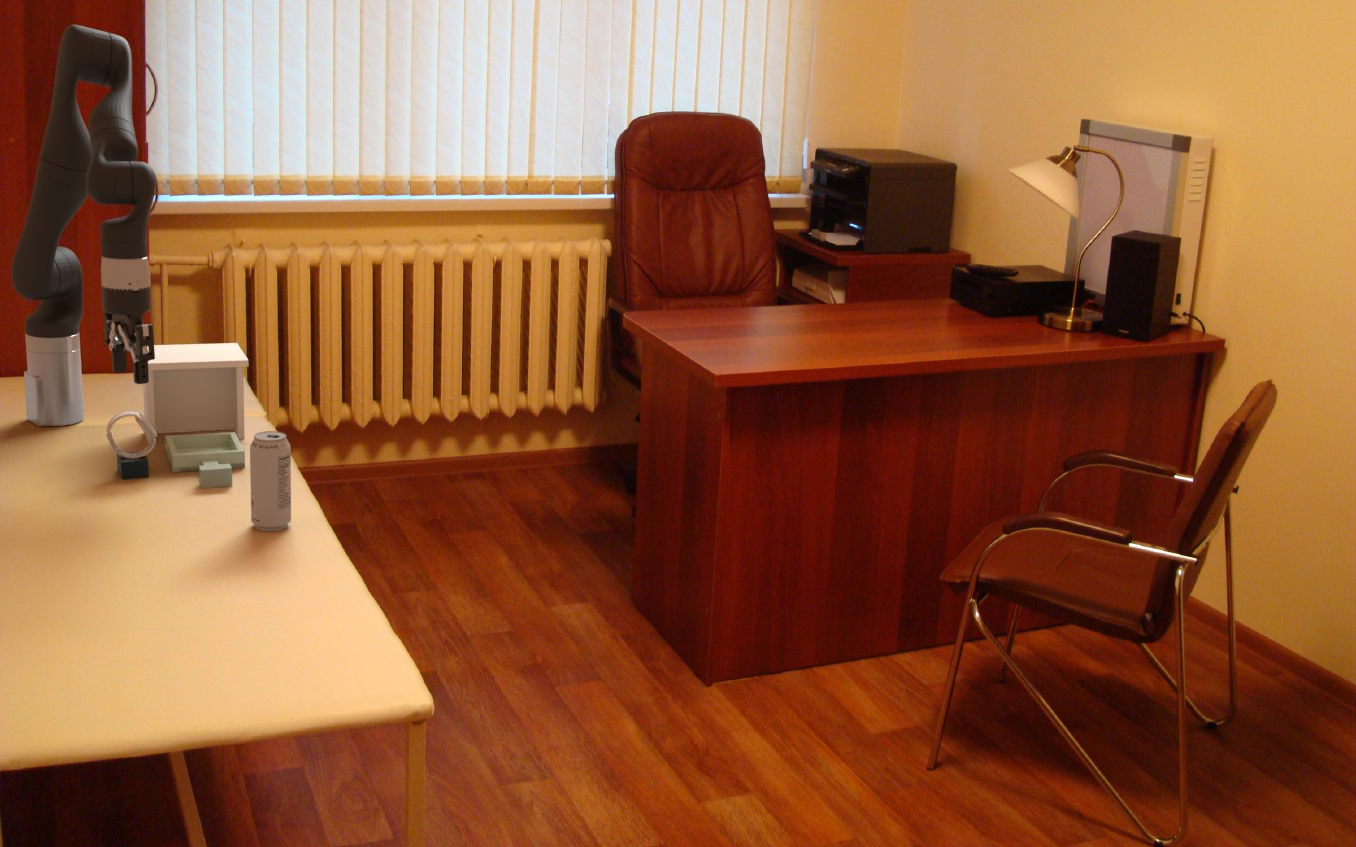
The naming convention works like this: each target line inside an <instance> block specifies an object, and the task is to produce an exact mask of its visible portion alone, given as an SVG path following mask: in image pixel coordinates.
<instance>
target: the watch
mask: <svg viewBox="0 0 1356 847" xmlns="http://www.w3.org/2000/svg"><path fill="white" fill-rule="evenodd" d="M125 417H134V419H135V421H136V422H137V424H138V425H139V426H138V427H140V428H141V430H142V431H143V432H144V434H145V436H146V435H147V437H148V438H150V439H151V441H150V443H149V444H148V445H147V446H145V447H144V449H142V450H136V451H123V450H122V448H121V447H120V446H119V445H118V444H117V443H116V441H115V440H114V438H113V435H112V431H111V430H112V428H113V426H114V424H116V422H118V421H119V420H121V419H123V418H125ZM106 437H107V440H108V442H109V444H110V446H111V447H112V449H113V450H114V452H115V453H116V462H117V464H116V465H117V471H118V474H119V476H120V479H121V480H132V479H133V480H135V479H145V478H146V479H147V478H150V469H149V466H150V465H149V458H148V457H147V455H148V454H149V453H151V452H152V450H153V449H154V446H155V445H156V444H157V440H156V437H158V433H156V431H155V430H154V428H153V427H152V425H151V424H150V422H149V421H148V420H147V418H146V417H145V416H144V413H143V411H142V412H141V411H140V412H137V411H136V410H125V411H121V412H119V413H117V414H115V415H114V416H113V417H112V418H111V419H110V420H109V421H108V423H107V427H106ZM147 437H146V438H147ZM155 443H156V444H155Z"/></svg>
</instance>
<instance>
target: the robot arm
mask: <svg viewBox="0 0 1356 847" xmlns="http://www.w3.org/2000/svg"><path fill="white" fill-rule="evenodd" d="M132 57H133V56H132V50H131V47H130V44H129V43H128V40H126V38H124V37H123V36H120V35H117V34H114V33H111V32H107V31H103V30H99V29H95V28H92V27H86V26H83V25H78V24H70V25H68V26H66V28H65V30H64V31H63V34H62V36H61V38H60V43H59V49H58V54H57V61H56V69H55V76H54V82H53V91H52V98H51V104H50V109H49V116H48V120H47V123H46V126H45V127H46V128H45V132H44V136H43V140H42V145H41V149H40V153H39V158H38V161H37V162H38V164H37V167H36V172H35V180H34V185H33V190H32V194H31V199H30V202H29V206H28V210H27V215H26V219H25V222H24V225H23V229H22V232H21V235H20V237H19V241H18V242H17V243H18V244H17V246H16V250H15V253H14V256H13V259H12V263H11V269H10V270H11V271H10V274H11V275H10V276H11V282H12V286H13V288H14V289H15V292H16V293H17V294H18V295H19V296H20V297H22V298H23V299H25V300H29V301H40V300H41V301H40V303H39V305H38V307H37V308H36V309H35V310H34V311H33V312H32V313H30V314H29V315H28V316H27V317H26V318H25V321H24V334H25V336H24V337H25V347H26V349H25V350H26V363H27V370H25V371H24V372H23V377H24V392H25V394H24V395H25V408H26V410H25V411H26V419H27V420H28V421H29V422H30V423H31V422H32V424H34V425H35V426H37V427H44V426H45V427H61V426H67V425H69V426H70V425H74V424H79V423H81V422H82V421H83V420H84V419H85V415H84V412H85V411H84V410H85V409H84V392H83V374H82V358H81V338H80V337H81V336H80V324H81V321H82V319H83V314H84V278H83V277H84V276H83V268H82V266H81V263H80V260H79V258H78V257H77V255H76V254H75V252H74V251H72V250H71V249H69V248H68V247H65V246H58V245H59V241H60V239H61V238H62V235H63V233H64V231H65V228H67V226H68V225H69V223H70V222H71V221H72V219H73V218H74V216H75V215H76V214H77V213H78V211H79V210H80V209H81V207H82V206H83V205H84V203H85V202H86V199H87V198H88V197H89V198H90V199H91V200H92V201H94V202H95V203H96V204H98V205H105V206H110V205H111V206H114V205H115V206H131V205H132V209H131V210H130V212H129V213H128V214H126V215H124V216H120V217H116V218H112V219H110V218H109V219H106V220H105V221H103V222H102V223H101V224H100V229H99V230H100V235H99V236H100V248H101V263H100V279H101V281H100V282H101V301H102V310H103V328H104V329H103V330H104V333H103V334H104V344H105V346H108V348H109V351H110V352H111V365H112V367H111V368H112V371H113V372H114V373H116V374H119V373H121V374H122V373H126V372H127V371H128V362H127V361H128V360H127V359H128V358H127V351H128V352H130V354H131V358H132V361H133V362H132V368H133V369H132V370H133V371H132V372H133V383H134V384H136V385H143V384H145V383H148V381H149V375H148V361H150V360H154V359H155V352H154V345H155V339H154V326H153V324H152V323H148V324H147V323H144V319H143V315H144V314H148V313H149V312H150V311H151V310H152V306H153V305H152V287H151V286H152V285H151V283H152V282H151V269H150V262H149V257H148V255H149V254H148V223H149V218H150V213H151V208H152V205H153V201H154V198H155V196H156V195H155V194H156V190H157V182H158V181H157V176H156V173H155V171H154V169H153V168H152V167H151V166H150V165H149V163H147V162H144V161H136V160H137V159H138V155H139V148H138V143H137V138H136V131H135V128H134V127H135V126H134V121H133V61H132V59H133V58H132ZM79 81H80V82H83V83H87V84H93V85H98V86H100V87H101V86H102V87H109V88H110V90H109V92H108V93H107V94H106V95H105V96H104V97H103V98H102V99H101V100H100V101H99V102H98V103H97V104H96V106H94V108H92V110H91V112H90V115H89V117H88V118H89V119H88V123H87V124H88V128H87V126H86V124H85V122H84V119H83V117H82V115H81V111H80V107H79V105H78V100H77V85H78V83H79ZM147 347H148V349H149V352H148V349H147Z"/></svg>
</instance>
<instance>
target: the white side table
mask: <svg viewBox="0 0 1356 847" xmlns="http://www.w3.org/2000/svg"><path fill="white" fill-rule="evenodd" d="M147 349H148V347H147ZM148 352H149V349H148ZM154 352H155V359H154V360H150V361H148V375H149V381H148V383H145V384H142V386H143V387H142V388H143V412H144V413H143V414H144V416H145V417H146V418H147V420H148V421H149V422H150V424H151V425H152V427H153V428H154V430H155V431H156V433H157V434H169V433H170V434H171V433H173V434H175V433H190V432H192V433H193V432H205V431H206V432H207V431H208V432H209V431H224V430H225V431H227V430H228V431H229V430H232V431H233V432H235V433H236V435H237V437H238V439H239V440H241V439H242V440H243V439H245V437H246V436H245V395H244V394H245V388H244V383H245V382H244V368H246V367H249V364H250V363H249V359H248V357H247V356H246V354H245V353H244V351H243V349H241V347H240V345H239V343H238V342H229V343H228V342H227V343H226V342H225V343H224V342H223V343H193V344H192V343H190V344H189V343H187V344H183V343H182V344H154ZM145 437H146V440H147V443H148V445H149V443H150V441H151V439H150V438H148V437H147V435H146V434H145ZM156 444H157V442H156V443H155V445H156Z"/></svg>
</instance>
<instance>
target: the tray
mask: <svg viewBox="0 0 1356 847" xmlns="http://www.w3.org/2000/svg"><path fill="white" fill-rule="evenodd" d="M165 452H166V455H167V458H168V461H169V464H170V466H171V470H172V472H173V473H178V472H179V473H180V472H195V471H197V472H198V475H199V486H200V488H201V489H205V488H206V489H209V488H218V487H219V488H221V487H222V488H223V487H233V469H237V468H245V467H246V456H245V455H246V454H245V453H246V451H245V449H244V447H243V445H242V442H241V441H240V439H238V437H237V435H236V433H235V432H234V431H231V432H230V431H229V432H213V433H212V432H211V433H196V434H194V433H193V434H178V435H177V434H175V435H165Z"/></svg>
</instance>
